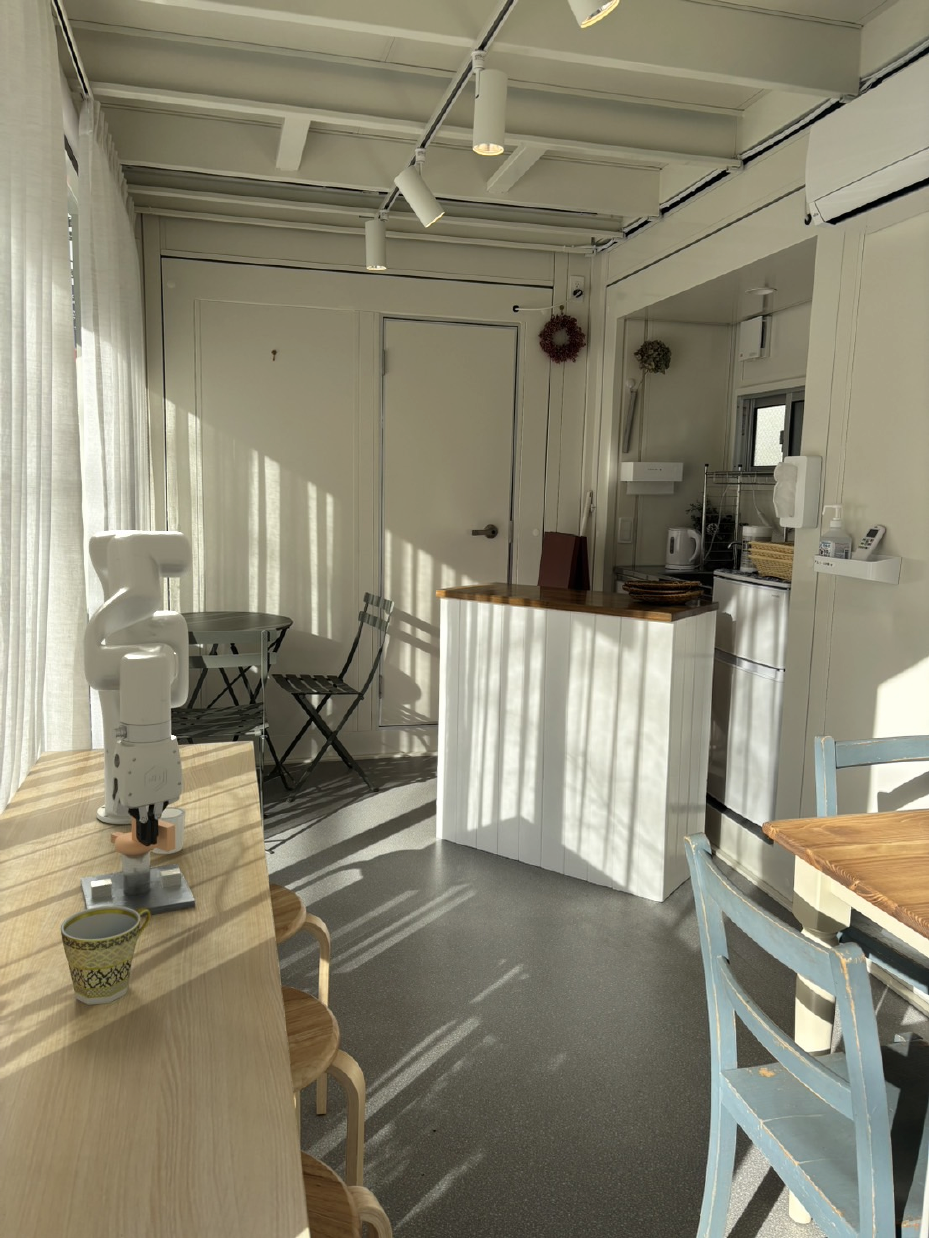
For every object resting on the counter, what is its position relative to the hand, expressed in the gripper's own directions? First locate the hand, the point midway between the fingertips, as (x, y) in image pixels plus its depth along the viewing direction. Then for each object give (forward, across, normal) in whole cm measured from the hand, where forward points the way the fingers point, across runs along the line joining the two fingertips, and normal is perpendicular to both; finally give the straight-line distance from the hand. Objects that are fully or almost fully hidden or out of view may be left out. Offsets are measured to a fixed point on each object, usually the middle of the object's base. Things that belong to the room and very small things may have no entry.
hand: (147, 842), depth 148 cm
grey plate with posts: (+12, +2, +7) cm, 13 cm away
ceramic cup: (+12, -14, -17) cm, 26 cm away
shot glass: (+12, +15, +22) cm, 29 cm away
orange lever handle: (+3, +2, +5) cm, 6 cm away
